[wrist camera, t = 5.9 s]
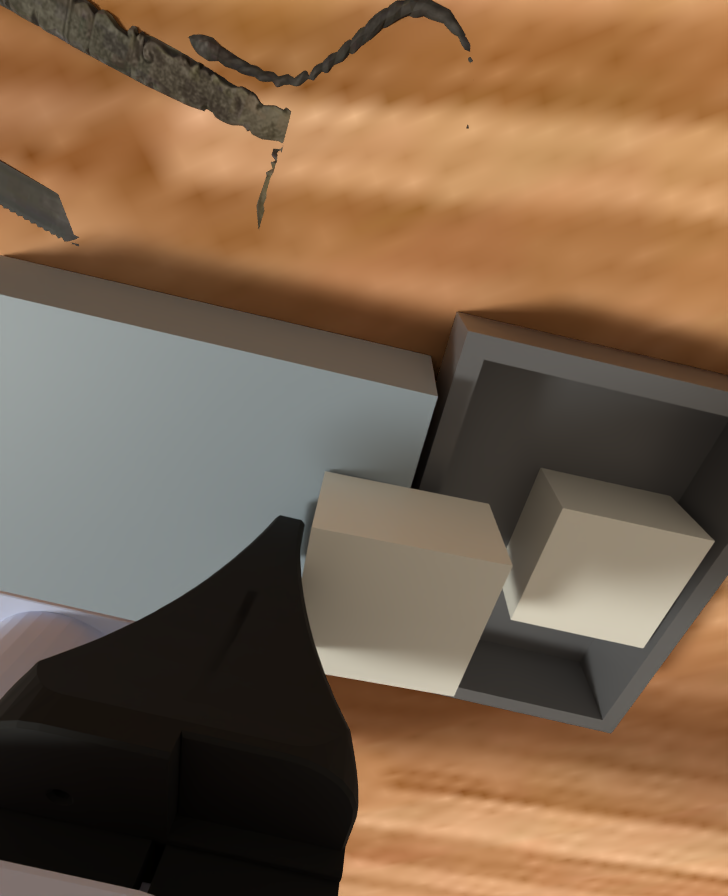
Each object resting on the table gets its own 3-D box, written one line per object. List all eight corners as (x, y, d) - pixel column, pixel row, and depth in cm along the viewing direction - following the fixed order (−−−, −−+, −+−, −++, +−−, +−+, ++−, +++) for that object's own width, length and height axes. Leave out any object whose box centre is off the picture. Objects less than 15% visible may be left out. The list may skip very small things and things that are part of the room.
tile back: (510, 619, 15) (497, 569, 17) (643, 648, 15) (613, 594, 17) (562, 508, 13) (540, 467, 15) (715, 541, 13) (670, 495, 15)
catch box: (583, 664, 20) (611, 733, 17) (367, 615, 20) (360, 676, 17) (759, 382, 14) (842, 419, 11) (457, 311, 14) (468, 330, 11)
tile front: (442, 622, 14) (453, 696, 12) (300, 596, 14) (284, 667, 12) (488, 503, 12) (512, 565, 10) (325, 471, 12) (311, 527, 10)
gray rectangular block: (365, 587, 19) (355, 671, 15) (34, 512, 19) (-54, 578, 15) (430, 355, 15) (438, 396, 11) (0, 255, 14) (-134, 263, 11)
